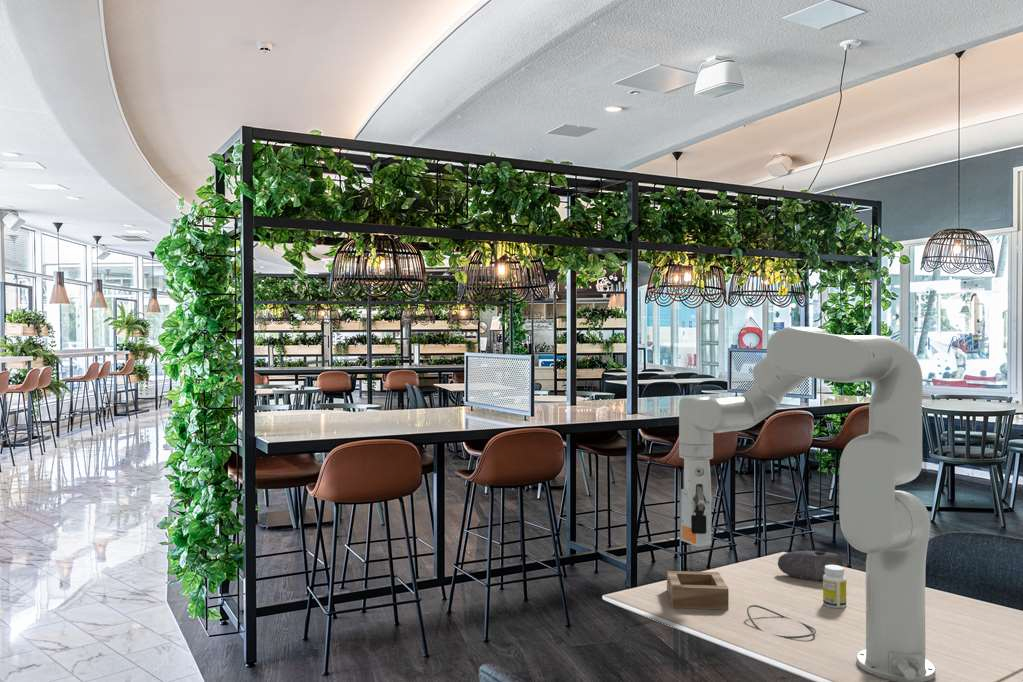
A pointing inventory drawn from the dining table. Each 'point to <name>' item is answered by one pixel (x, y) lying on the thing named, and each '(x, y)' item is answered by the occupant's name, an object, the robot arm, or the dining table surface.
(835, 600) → the supplement bottle
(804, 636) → the loop
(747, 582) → the dining table surface
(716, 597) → the holder
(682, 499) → the skincare box
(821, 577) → the perforated stone tool
